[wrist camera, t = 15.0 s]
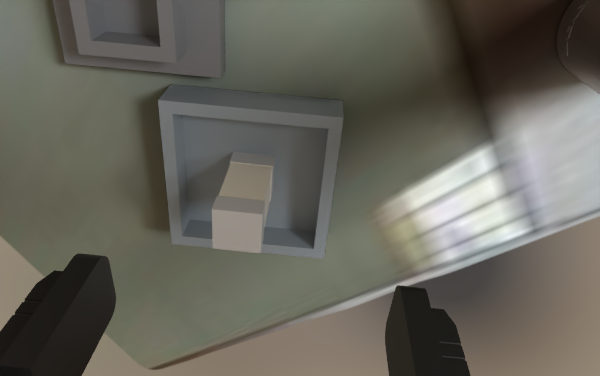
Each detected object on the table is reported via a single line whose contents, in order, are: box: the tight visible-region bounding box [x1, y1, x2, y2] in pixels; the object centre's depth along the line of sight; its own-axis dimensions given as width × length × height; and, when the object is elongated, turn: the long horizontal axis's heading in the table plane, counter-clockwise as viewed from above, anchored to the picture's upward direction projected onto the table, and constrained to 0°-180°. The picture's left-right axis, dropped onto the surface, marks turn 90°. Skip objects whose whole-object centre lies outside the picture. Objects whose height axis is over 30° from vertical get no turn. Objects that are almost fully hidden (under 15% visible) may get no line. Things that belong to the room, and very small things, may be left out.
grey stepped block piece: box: [52, 0, 225, 78], centre depth 37 cm, size 14×12×5 cm
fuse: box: [212, 152, 275, 253], centre depth 43 cm, size 4×4×10 cm
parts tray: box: [158, 84, 344, 259], centre depth 46 cm, size 16×16×4 cm
